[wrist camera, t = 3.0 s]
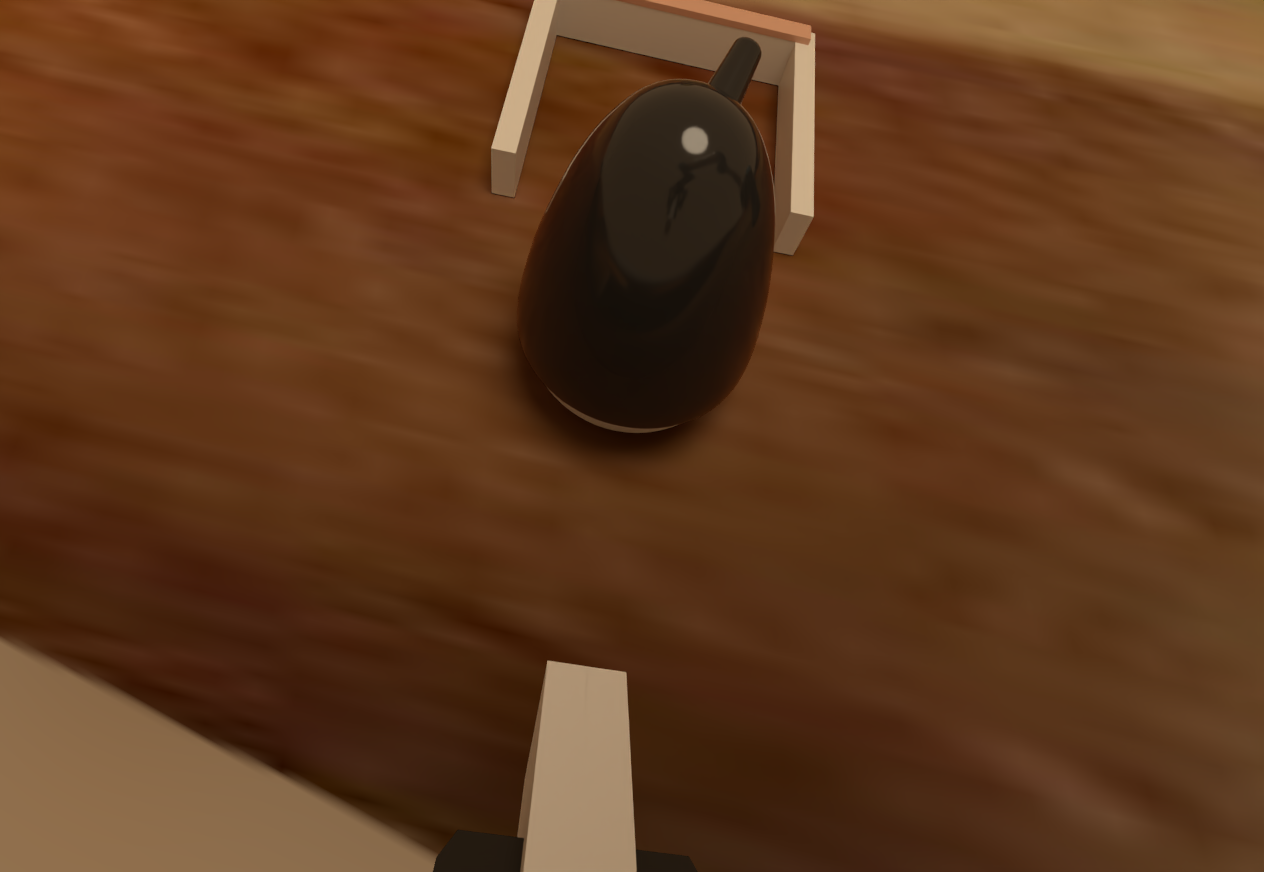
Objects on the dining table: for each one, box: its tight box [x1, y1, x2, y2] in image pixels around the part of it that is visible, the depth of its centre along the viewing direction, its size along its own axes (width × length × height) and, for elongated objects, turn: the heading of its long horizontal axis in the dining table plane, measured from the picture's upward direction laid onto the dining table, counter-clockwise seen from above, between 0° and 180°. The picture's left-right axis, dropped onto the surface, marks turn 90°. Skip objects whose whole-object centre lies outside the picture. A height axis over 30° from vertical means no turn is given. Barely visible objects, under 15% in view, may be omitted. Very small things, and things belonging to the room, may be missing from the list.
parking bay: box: [491, 0, 815, 255], centre depth 42 cm, size 16×15×3 cm
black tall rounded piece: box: [517, 37, 775, 433], centre depth 29 cm, size 10×10×15 cm
